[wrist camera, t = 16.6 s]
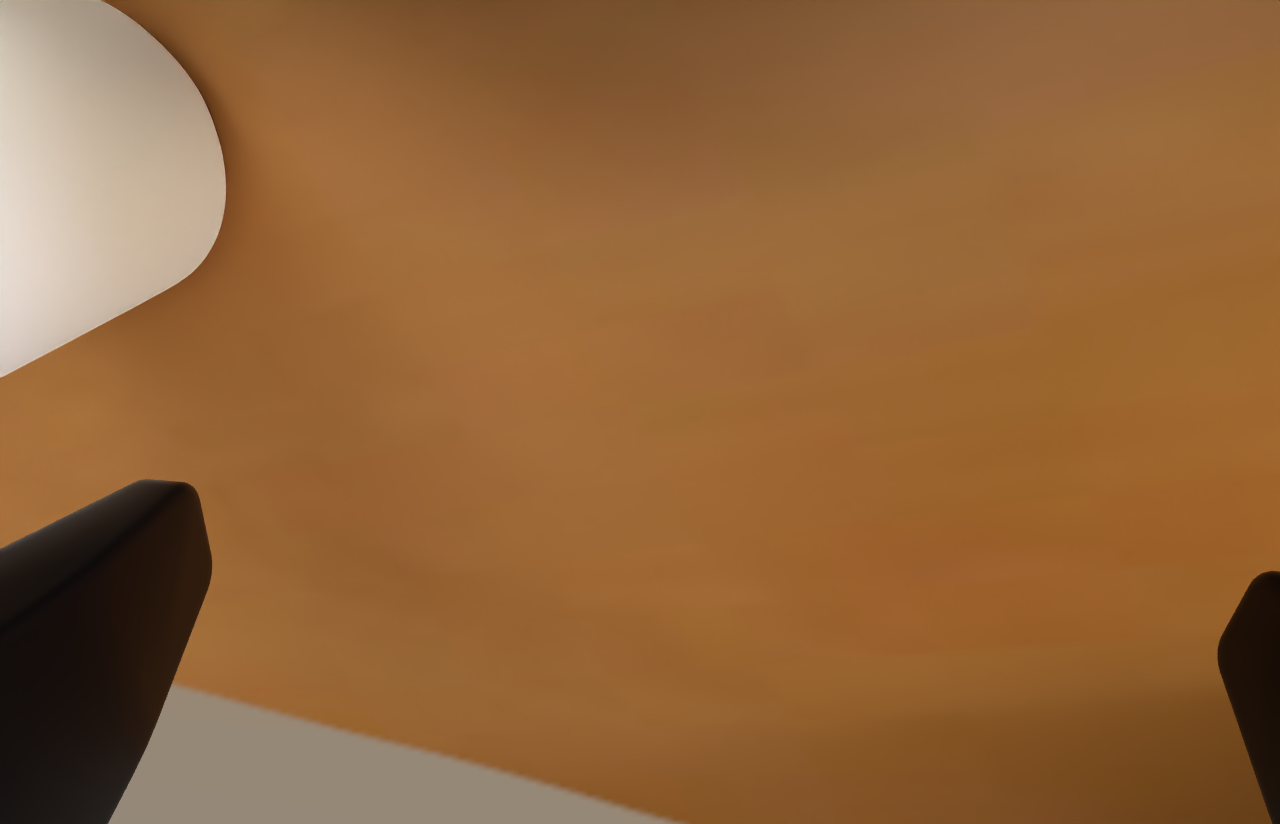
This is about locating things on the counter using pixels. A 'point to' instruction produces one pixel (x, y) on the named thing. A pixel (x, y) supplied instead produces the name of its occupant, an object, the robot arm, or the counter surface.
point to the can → (95, 172)
